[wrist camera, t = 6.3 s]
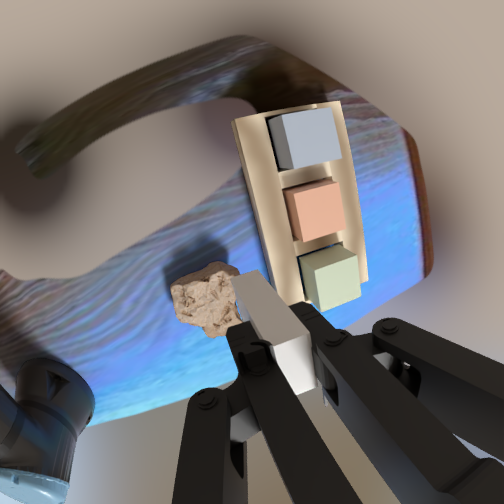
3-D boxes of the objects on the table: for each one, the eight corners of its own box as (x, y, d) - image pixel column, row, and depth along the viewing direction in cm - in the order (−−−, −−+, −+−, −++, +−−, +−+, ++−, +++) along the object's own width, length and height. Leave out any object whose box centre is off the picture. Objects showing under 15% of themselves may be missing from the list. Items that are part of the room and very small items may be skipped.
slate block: (279, 167, 36) (294, 169, 32) (268, 120, 34) (281, 115, 29) (322, 157, 37) (342, 158, 32) (312, 112, 35) (331, 107, 30)
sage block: (306, 296, 42) (321, 312, 38) (299, 257, 40) (314, 270, 36) (343, 282, 43) (361, 296, 38) (338, 244, 41) (357, 255, 36)
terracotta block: (289, 232, 41) (303, 242, 36) (280, 189, 39) (293, 194, 34) (328, 220, 42) (346, 228, 37) (320, 178, 40) (338, 182, 35)
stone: (235, 255, 41) (242, 268, 36) (240, 328, 45) (247, 347, 40) (168, 262, 39) (167, 276, 35) (180, 336, 43) (181, 355, 38)
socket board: (276, 303, 44) (282, 313, 42) (230, 121, 36) (234, 118, 33) (358, 273, 46) (368, 280, 44) (329, 104, 37) (339, 100, 35)
